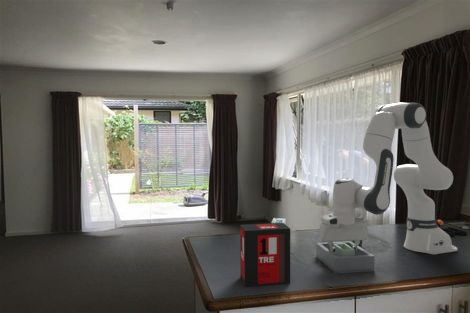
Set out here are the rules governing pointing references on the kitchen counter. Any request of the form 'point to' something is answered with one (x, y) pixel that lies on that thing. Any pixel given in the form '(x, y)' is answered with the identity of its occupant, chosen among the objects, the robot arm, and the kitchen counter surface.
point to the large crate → (345, 259)
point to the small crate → (343, 250)
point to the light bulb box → (279, 220)
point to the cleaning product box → (264, 254)
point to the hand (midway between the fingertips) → (343, 251)
